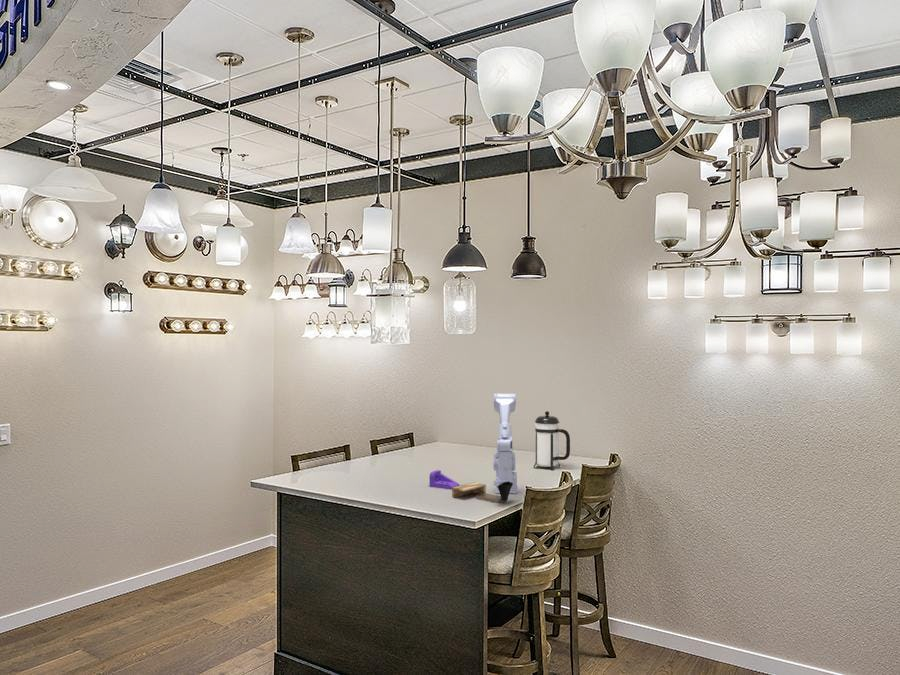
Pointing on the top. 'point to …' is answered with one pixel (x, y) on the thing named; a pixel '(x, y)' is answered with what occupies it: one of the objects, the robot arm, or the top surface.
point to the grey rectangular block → (489, 498)
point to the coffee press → (549, 441)
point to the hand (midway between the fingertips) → (504, 500)
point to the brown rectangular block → (468, 489)
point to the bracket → (441, 480)
